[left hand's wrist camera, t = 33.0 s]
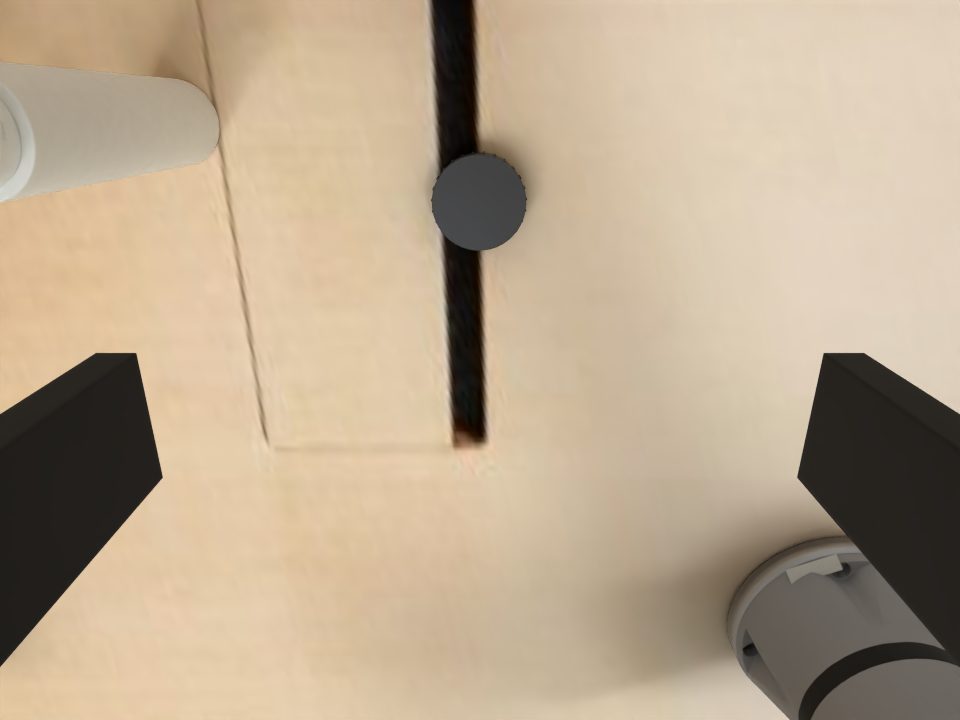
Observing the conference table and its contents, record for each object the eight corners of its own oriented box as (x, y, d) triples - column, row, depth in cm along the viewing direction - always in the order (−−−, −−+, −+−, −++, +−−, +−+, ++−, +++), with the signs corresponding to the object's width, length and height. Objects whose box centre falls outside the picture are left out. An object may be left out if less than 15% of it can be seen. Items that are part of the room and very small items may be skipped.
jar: (227, 162, 39) (25, 206, 21) (149, 167, 39) (-115, 215, 22) (210, 75, 37) (-25, 47, 20) (128, 81, 37) (-178, 58, 20)
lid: (540, 174, 39) (543, 177, 37) (503, 259, 41) (504, 266, 39) (453, 135, 38) (452, 136, 36) (419, 225, 40) (416, 229, 38)
